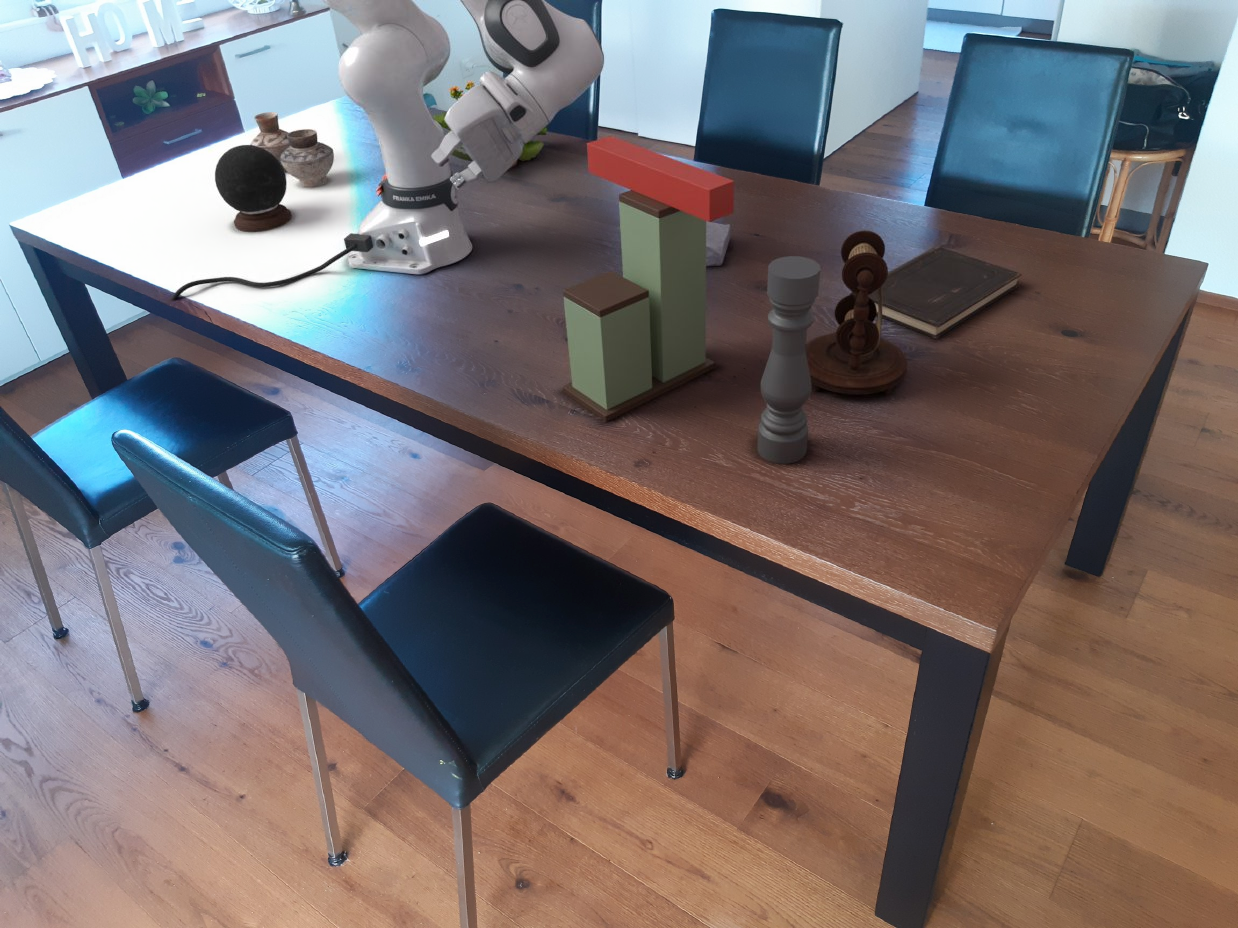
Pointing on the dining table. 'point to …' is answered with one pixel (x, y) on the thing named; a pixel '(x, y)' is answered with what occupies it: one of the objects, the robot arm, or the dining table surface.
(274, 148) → the pottery
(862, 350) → the scroll
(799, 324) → the candle holder
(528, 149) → the potted flower
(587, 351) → the step shelf
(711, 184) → the red bar
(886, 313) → the hardcover book
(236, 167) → the black ball on stand
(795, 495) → the dining table surface
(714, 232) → the stone block
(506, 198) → the dining table surface
